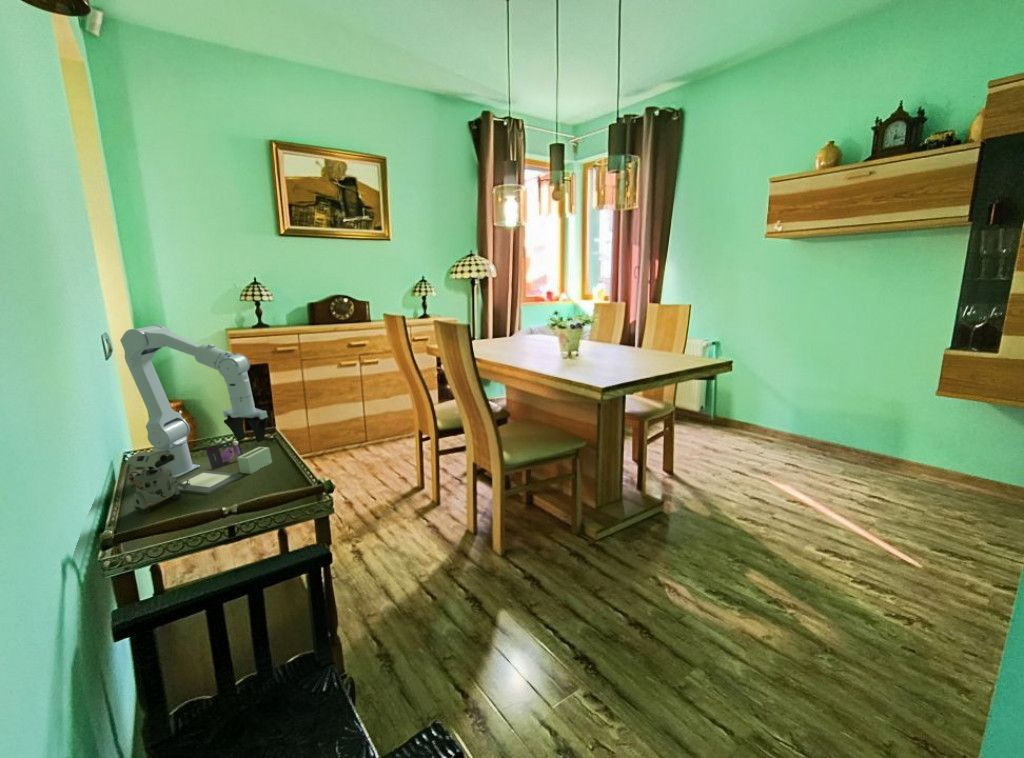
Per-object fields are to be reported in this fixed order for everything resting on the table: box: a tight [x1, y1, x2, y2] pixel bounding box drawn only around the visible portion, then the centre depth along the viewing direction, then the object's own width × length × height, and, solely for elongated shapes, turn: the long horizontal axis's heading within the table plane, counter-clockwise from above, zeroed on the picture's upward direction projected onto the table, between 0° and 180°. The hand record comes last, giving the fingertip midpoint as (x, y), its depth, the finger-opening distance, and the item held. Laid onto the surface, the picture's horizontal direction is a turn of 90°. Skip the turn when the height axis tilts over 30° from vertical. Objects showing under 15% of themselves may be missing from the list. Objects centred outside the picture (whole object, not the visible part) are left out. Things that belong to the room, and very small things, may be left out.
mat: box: [176, 469, 244, 496], centre depth 134 cm, size 16×11×1 cm
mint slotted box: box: [236, 446, 273, 475], centre depth 142 cm, size 4×8×5 cm, turn 162°
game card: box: [205, 439, 243, 470], centre depth 148 cm, size 7×5×9 cm
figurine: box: [125, 450, 190, 514], centre depth 120 cm, size 9×12×15 cm
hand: (250, 440), depth 141 cm, fingers open, 7 cm apart
